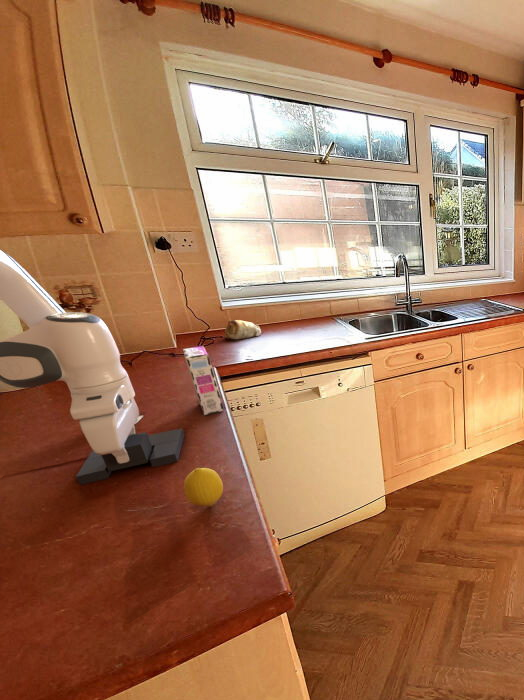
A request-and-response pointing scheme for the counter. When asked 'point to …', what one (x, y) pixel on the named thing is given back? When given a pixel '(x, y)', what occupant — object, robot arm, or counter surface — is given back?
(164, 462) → the base pad
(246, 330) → the pastry
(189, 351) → the candy bar box
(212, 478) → the lemon
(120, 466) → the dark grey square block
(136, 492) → the counter surface
